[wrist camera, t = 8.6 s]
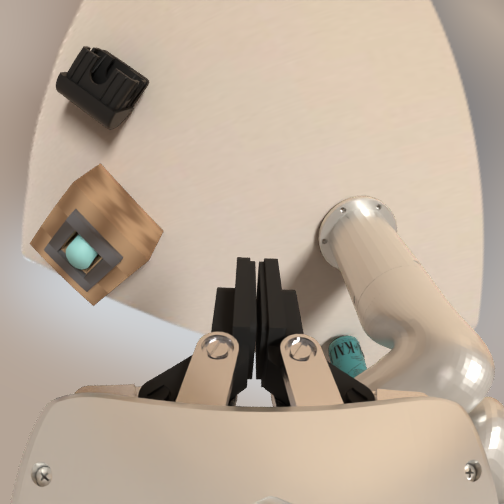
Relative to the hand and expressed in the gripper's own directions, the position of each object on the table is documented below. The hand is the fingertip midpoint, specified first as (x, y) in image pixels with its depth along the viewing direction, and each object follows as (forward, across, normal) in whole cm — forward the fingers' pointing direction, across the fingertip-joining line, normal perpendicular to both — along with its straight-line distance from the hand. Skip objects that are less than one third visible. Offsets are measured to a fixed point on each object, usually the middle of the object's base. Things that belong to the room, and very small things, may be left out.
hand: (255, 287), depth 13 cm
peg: (+29, +22, +12) cm, 38 cm away
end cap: (+29, +19, -9) cm, 36 cm away
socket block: (+29, +22, +12) cm, 39 cm away
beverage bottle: (+29, -20, +36) cm, 50 cm away
